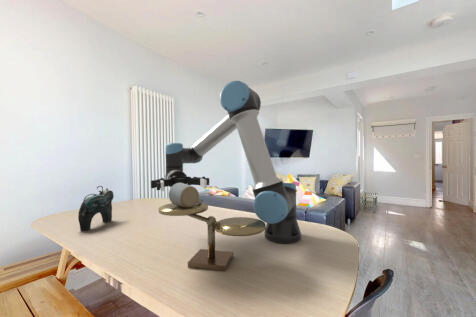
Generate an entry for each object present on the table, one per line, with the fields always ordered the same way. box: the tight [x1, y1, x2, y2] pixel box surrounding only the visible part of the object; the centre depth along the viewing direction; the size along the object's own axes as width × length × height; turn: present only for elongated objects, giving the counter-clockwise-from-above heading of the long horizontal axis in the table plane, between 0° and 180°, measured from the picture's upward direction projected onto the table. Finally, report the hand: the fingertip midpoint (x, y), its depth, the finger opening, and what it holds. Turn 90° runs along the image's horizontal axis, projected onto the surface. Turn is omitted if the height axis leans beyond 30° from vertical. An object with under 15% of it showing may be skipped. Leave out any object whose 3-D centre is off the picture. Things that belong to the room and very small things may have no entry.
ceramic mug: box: [168, 183, 204, 208], centre depth 74 cm, size 11×8×8 cm
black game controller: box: [77, 185, 115, 232], centre depth 112 cm, size 20×6×20 cm, turn 172°
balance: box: [158, 202, 267, 272], centre depth 71 cm, size 35×16×18 cm, turn 77°
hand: (184, 185), depth 70 cm, fingers open, 13 cm apart
